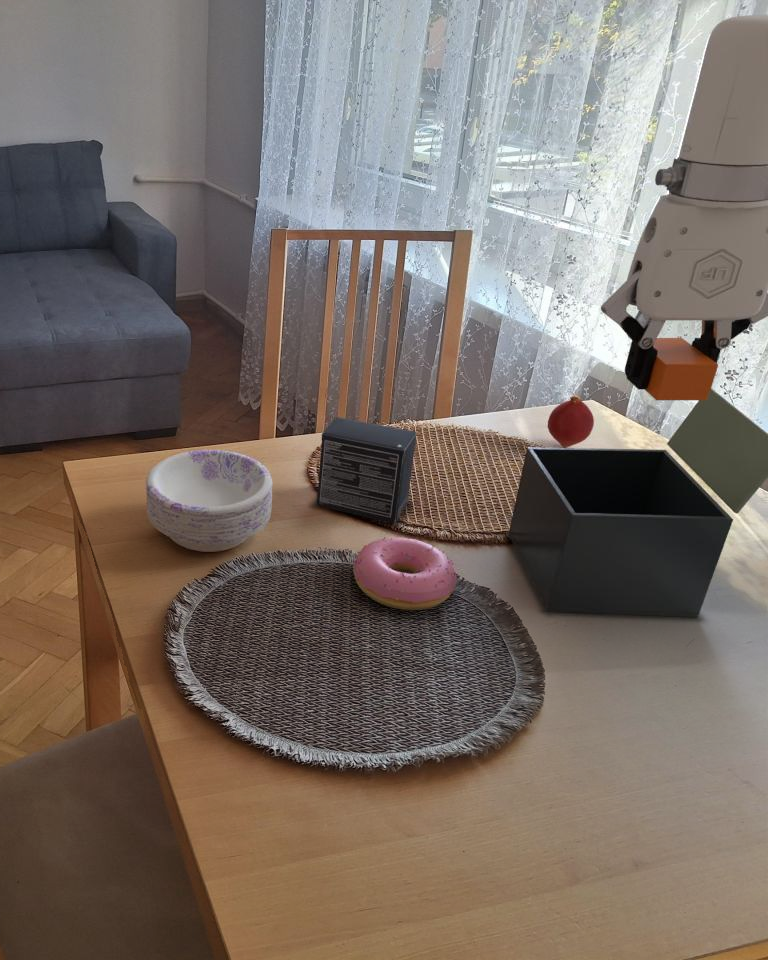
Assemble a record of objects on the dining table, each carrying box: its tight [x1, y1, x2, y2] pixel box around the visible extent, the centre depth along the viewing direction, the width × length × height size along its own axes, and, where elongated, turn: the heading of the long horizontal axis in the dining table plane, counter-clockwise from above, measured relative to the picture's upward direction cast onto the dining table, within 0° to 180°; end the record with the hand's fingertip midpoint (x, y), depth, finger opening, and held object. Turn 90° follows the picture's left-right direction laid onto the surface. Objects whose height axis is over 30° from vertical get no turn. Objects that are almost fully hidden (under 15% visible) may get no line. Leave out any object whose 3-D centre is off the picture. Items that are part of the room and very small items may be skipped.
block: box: [644, 337, 719, 401], centre depth 80 cm, size 4×7×4 cm, turn 175°
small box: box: [315, 416, 418, 525], centre depth 109 cm, size 11×6×10 cm, turn 59°
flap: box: [666, 387, 768, 515], centre depth 88 cm, size 7×15×1 cm
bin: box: [507, 446, 734, 618], centre depth 94 cm, size 15×15×12 cm
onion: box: [547, 395, 595, 448], centre depth 122 cm, size 6×6×8 cm
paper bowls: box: [145, 449, 273, 553], centre depth 105 cm, size 15×15×8 cm
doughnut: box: [352, 536, 458, 611], centre depth 95 cm, size 11×11×4 cm
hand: (665, 382), depth 81 cm, fingers closed on block, 4 cm apart
